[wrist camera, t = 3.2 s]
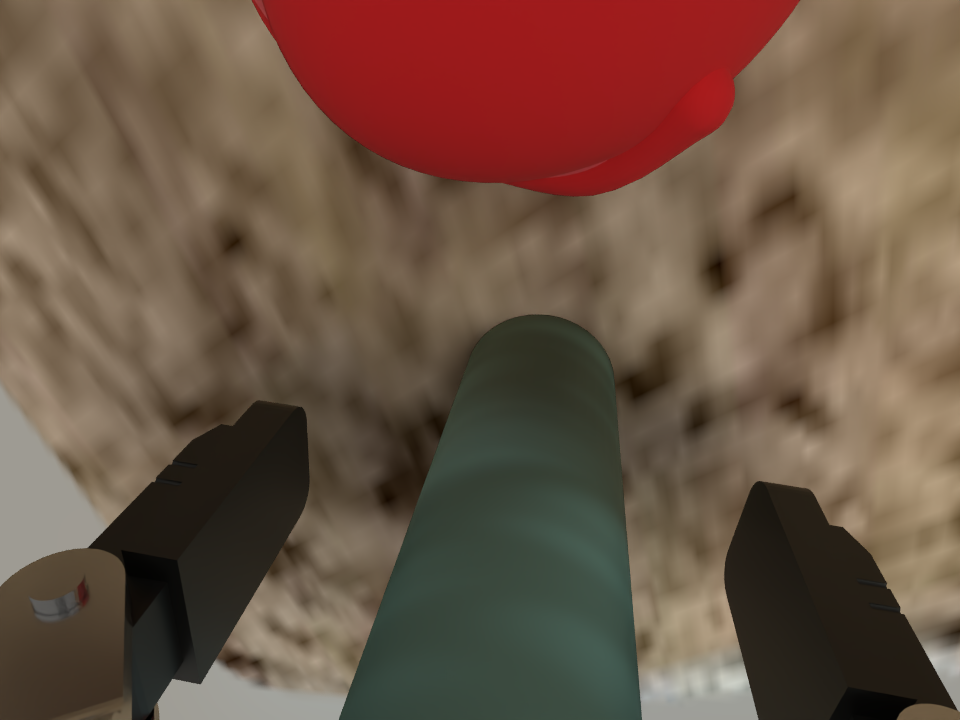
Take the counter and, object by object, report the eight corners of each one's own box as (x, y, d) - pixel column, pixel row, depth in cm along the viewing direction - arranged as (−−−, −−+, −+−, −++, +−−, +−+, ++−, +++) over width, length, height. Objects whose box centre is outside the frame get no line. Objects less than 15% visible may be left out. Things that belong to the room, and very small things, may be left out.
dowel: (627, 326, 13) (720, 975, 4) (599, 453, 14) (621, 1130, 5) (472, 305, 13) (234, 865, 4) (461, 432, 14) (269, 1041, 6)
